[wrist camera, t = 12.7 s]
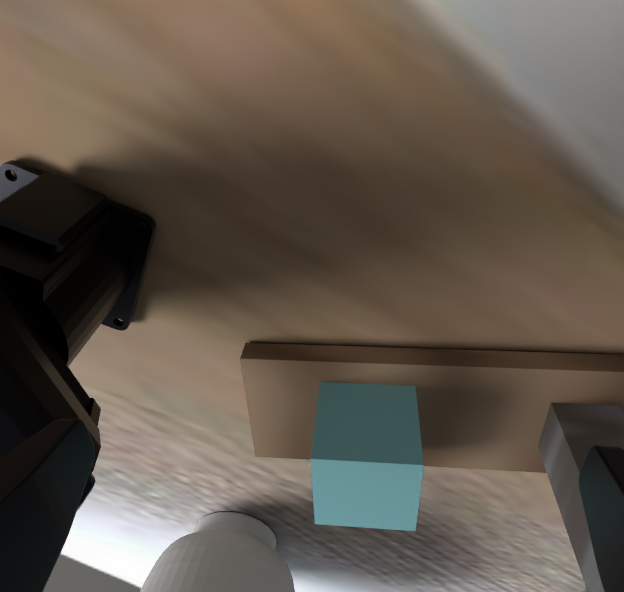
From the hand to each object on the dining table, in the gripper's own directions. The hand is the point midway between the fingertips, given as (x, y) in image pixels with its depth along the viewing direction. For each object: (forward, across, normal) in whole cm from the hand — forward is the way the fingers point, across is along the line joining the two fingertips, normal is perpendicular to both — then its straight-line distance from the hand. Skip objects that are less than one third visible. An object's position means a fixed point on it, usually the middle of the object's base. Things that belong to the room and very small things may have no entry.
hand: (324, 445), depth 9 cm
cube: (+12, -1, +12) cm, 17 cm away
